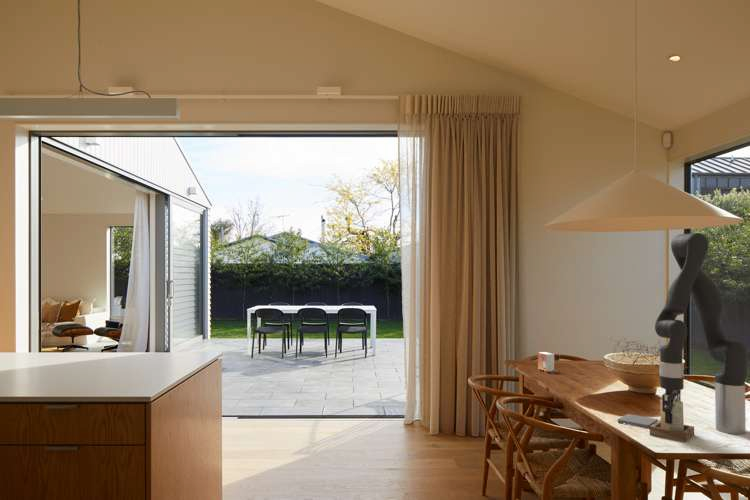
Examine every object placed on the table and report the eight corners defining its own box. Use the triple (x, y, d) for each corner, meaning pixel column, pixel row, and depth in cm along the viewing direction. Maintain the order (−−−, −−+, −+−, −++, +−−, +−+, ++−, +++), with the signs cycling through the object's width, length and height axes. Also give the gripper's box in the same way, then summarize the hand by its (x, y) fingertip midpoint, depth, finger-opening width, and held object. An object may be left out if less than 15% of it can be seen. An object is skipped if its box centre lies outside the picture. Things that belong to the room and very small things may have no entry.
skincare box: (677, 433, 193) (676, 399, 194) (684, 436, 189) (684, 402, 189) (659, 433, 193) (659, 399, 193) (666, 437, 189) (666, 402, 189)
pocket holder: (659, 428, 199) (659, 420, 199) (694, 434, 191) (694, 426, 191) (649, 435, 191) (649, 426, 191) (685, 442, 183) (685, 433, 183)
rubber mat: (627, 416, 214) (627, 413, 214) (657, 422, 207) (657, 419, 207) (617, 422, 206) (617, 419, 206) (648, 428, 199) (648, 425, 199)
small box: (537, 370, 311) (537, 352, 311) (546, 369, 313) (545, 351, 313) (546, 372, 303) (546, 354, 304) (554, 372, 305) (554, 353, 305)
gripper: (677, 379, 184) (678, 427, 183) (688, 373, 194) (688, 419, 194) (653, 376, 189) (654, 423, 188) (665, 370, 199) (666, 415, 199)
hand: (671, 421), depth 191 cm, fingers closed on skincare box, 7 cm apart
